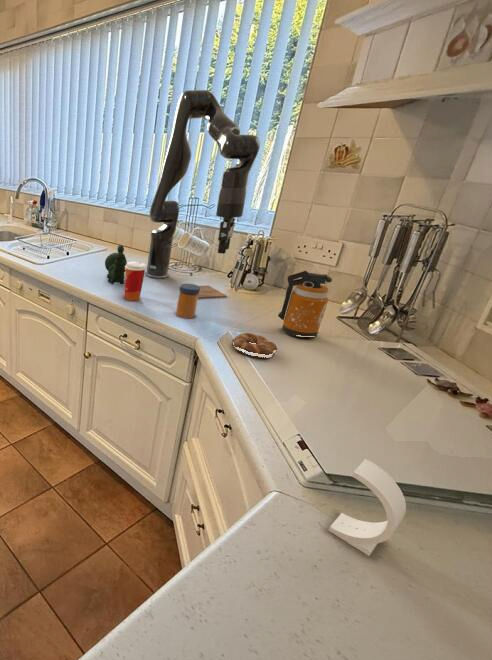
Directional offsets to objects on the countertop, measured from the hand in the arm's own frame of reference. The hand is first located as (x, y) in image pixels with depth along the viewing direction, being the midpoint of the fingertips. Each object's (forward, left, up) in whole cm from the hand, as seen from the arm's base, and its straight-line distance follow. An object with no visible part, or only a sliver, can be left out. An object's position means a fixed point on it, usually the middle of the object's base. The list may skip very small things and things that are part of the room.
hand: (223, 251), depth 132 cm
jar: (+3, -10, -22) cm, 25 cm away
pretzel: (+28, 0, -22) cm, 36 cm away
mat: (-20, +5, -22) cm, 30 cm away
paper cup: (-12, -25, -22) cm, 36 cm away
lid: (+3, -10, -12) cm, 16 cm away
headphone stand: (+88, -14, -22) cm, 92 cm away
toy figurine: (-34, -27, -22) cm, 49 cm away
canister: (+16, +19, -22) cm, 33 cm away
